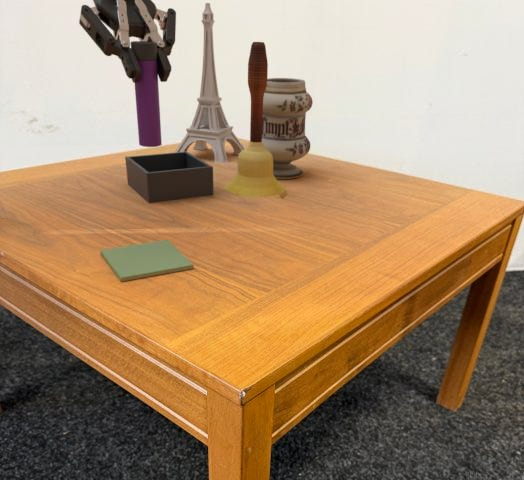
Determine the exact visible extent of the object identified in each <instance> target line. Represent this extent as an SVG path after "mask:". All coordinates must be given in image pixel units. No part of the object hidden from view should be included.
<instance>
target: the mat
mask: <svg viewBox="0 0 524 480" xmlns="http://www.w3.org/2000/svg"><path fill="white" fill-rule="evenodd" d="M99 251H100V252H99V253H100V255H101V256H102V257H103V259H104V260H105V262H106V264H107V265H108V266H109V267H110V269H111V270H112V271H113V273H114V274H115V275H116V277H117V278H118V280H119V281H120V282H121V283H122V282H127V281H133V280H138V279H144V278H149V277H150V278H151V277H155V276H160V275H167V274H171V273H176V272H182V271H187V270H193V269H194V264H193V263H192V261H190V260H189V259H188V257H186V256H185V255H184V254H183V253H182V252H181V251H180V250H179V249H178V248H177V247H176V246H175V245H174V244H173V243H172V242H171V241H170V240H169V239H162V240H156V241H150V242H149V241H148V242H143V243H136V244H130V245H123V246H118V247H112V248H105V249H100V250H99Z"/></svg>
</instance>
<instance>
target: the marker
mask: <svg viewBox="0 0 524 480" xmlns="http://www.w3.org/2000/svg"><path fill="white" fill-rule="evenodd" d="M130 48H133V50H134V53H135V55H136V58H137V60H138V63H139V66H140V68H141V72H142V74H141V78H140V81H139V83H134V94H135V107H136V119H137V132H138V133H137V134H138V145H139V146H140V147H141V146H142V147H143V148H144V147H146V148H156V147H160V146H162V126H161V108H160V107H161V106H160V91H159V76H158V70H157V59H158V57H157V43H156V42H147V41H140V40H134V41H133V40H132V41H130Z"/></svg>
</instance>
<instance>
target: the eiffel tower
mask: <svg viewBox="0 0 524 480" xmlns="http://www.w3.org/2000/svg"><path fill="white" fill-rule="evenodd" d="M201 15H202V19H201V23H202V25H203V51H202V53H203V54H202V69H201V84H200V91H199V97H197V98H196V101H197V108H196V110H195V113H194V116H193V120H192V122H191V125H190V127H187V128H186V129H185V130H186V132H187V133H186V134H185V136H184V137H183V139H182V140H181V142H180V143H179V145H178V147H177V148H176V149H175V151H174V152H173V153H176V152H188V150H189V148H190V147H191V146H192V145H193V144H194V145H193V146H192V150H198V151H204V150H207V149H208V148H209V146H210V148H211V149H212V151H213V155H214V156H213V157H214V160H213V161H214V162H213V163H230V161H229V159H228V156H227V153H226V146H225V145H226V142H228V143H229V144H230V146H231V147H232V149H233V152H232V154H233V155H235V156H236V155H237V156H239V153H240V152H241V151H243V150H244V149H246V147H244V144H242V142H241V141H240V139H239V138H238V137H237V135H236V134H235V133H234V131H233V129H234V126H231V125H229V122H228V120H227V117H226V115H225V113H224V110H223V107H222V103H221V101H222V97H220V95H219V88H218V81H217V80H218V79H217V71H216V62H215V51H214V49H215V48H214V31H213V27H214V23H215V20H214V12H213V11H212V7H211V3H210V2H205V5H204V10H203V11H202V14H201ZM207 144H208V145H209V146H208V145H207Z"/></svg>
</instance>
